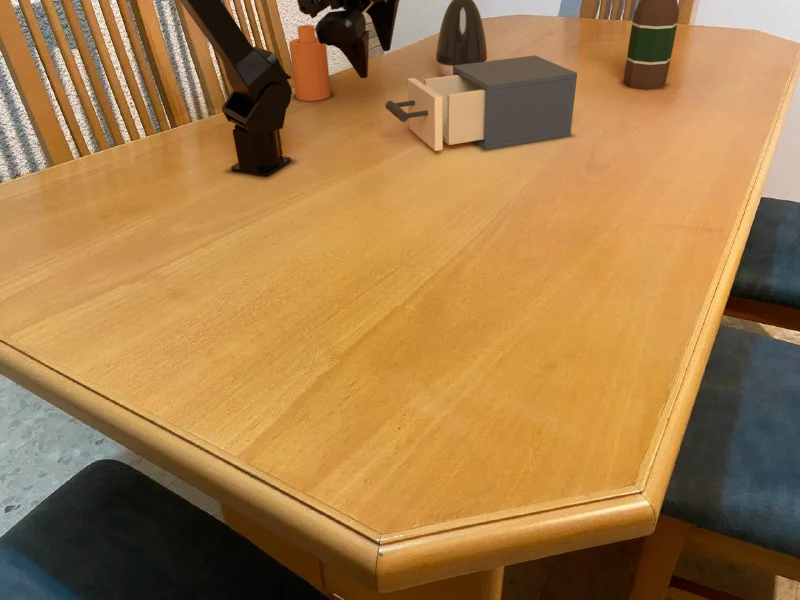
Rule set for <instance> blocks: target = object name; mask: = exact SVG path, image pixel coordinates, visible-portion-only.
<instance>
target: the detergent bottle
mask: <svg viewBox="0 0 800 600" xmlns="http://www.w3.org/2000/svg"><path fill="white" fill-rule="evenodd" d="M297 36H298V38H295V39H291V40H290V41H289V42H288V44H289V45H288V46H289V51H290V52H289V53H290V54H289V55H290V60H291V61H290V62H291V69H292V78H293V85H294V92H295V97H296V99H297V100H300V101H305V102H314V101H316V102H317V101H322V100H325V99H328V98H330V97H331V81H330V73H329V62H328V60H329V59H328V51H327V45H326V44H325V43H324V44H320V43H319V41H318V38H317V36H316V32H315V25H312V24H305V25H304V24H303V25H298V26H297Z"/></svg>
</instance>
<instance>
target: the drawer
mask: <svg viewBox="0 0 800 600" xmlns="http://www.w3.org/2000/svg"><path fill="white" fill-rule="evenodd" d="M406 80H407V81H406V82H407V100H406V101H400V102H394V101H393V100H388V101H386V103H385V109H386V110H388V112H390V113H391V114H392V115H393V116H394V117H395V118H396V119H397V120H399V121H400V122H401V123H405V122H407V121H408V129H410V131H411V132H413V134H415V135H416V136H417V137H418V138H420V139H421V140H422V141H423V142H424V143H425V144H426V145H428V147H430V148H431V149H432V150H433V151H434V152H437V151H443V142H444V143H446V144H447V145H449V146H452V145H457V144H458V145H459V144H464V143H470V142H474V141H477V140H483V139H484V118H485V92H486V89H484V88H482V87H481V86H479V85H477V84H475V83H474V82H472V81H470V80H468V79H467V78H465V77H463V76H461V75H460V74H458V75H451V76H444V75H443V76H437V77H429V78H424V79H423V82H421V81H420V80H419V79H417V78H415V77H410V78H407V79H406ZM404 107H407V112H406V111H405V110H404V109H403V108H404Z"/></svg>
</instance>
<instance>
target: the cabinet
mask: <svg viewBox="0 0 800 600" xmlns="http://www.w3.org/2000/svg"><path fill="white" fill-rule="evenodd" d="M458 74H460V75H461V76H463V77H465V78H467V79H468V80H470V81H472V82H474V83H475V84H477V85H479V86H481V87H482V88H484V89H486V92H485V118H484V139H483V140H477V141H473V142H474V143H475V144H476V145H478V146H479V147H481V148H482V149H483V150H484V151H488V150H489V151H490V150H494V149H502V148H507V147H513V146H518V145H525V144H530V143H536V142H543V141H549V140H554V139H560V138H561V139H562V138H566V137H571V131H572V123H573V114H574V107H575V98H576V90H577V89H576V88H577V79H578V72H576V71H573V70H571V69H569V68H566V67H564V66H561V65H559V64H557V63H555V62H553V61H550V60H547V59H544V58H542V57H540V56H539V55H538V56H537V55H535V54H534V55H527V56H519V57H511V58H504V59H503V58H502V59H497V60H496V59H495V60H488V61H487V60H486V61H485V62H479V63H471V64H463V65H455V66H453V75H458Z"/></svg>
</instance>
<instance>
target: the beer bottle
mask: <svg viewBox="0 0 800 600" xmlns="http://www.w3.org/2000/svg"><path fill="white" fill-rule="evenodd" d="M679 9H680V8H679V3H678V0H639V2H638V4H637V6H636V8H635V10H634V13H633V17H632V22H631V27H630V34H629V40H628V48H627V54H626V60H625V67H624V76H623V83H624V84H625V85H626V86H628V87H630V88H632V89H639V90H655V89H660V88H662V87H663V86H664V85H665V84H666V82H667V79H668V75H669V70H670V65H671V61H672V60H671V59H672V55H673V48H674V43H675V38H676V33H677V28H678V23H679V15H680V10H679Z"/></svg>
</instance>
